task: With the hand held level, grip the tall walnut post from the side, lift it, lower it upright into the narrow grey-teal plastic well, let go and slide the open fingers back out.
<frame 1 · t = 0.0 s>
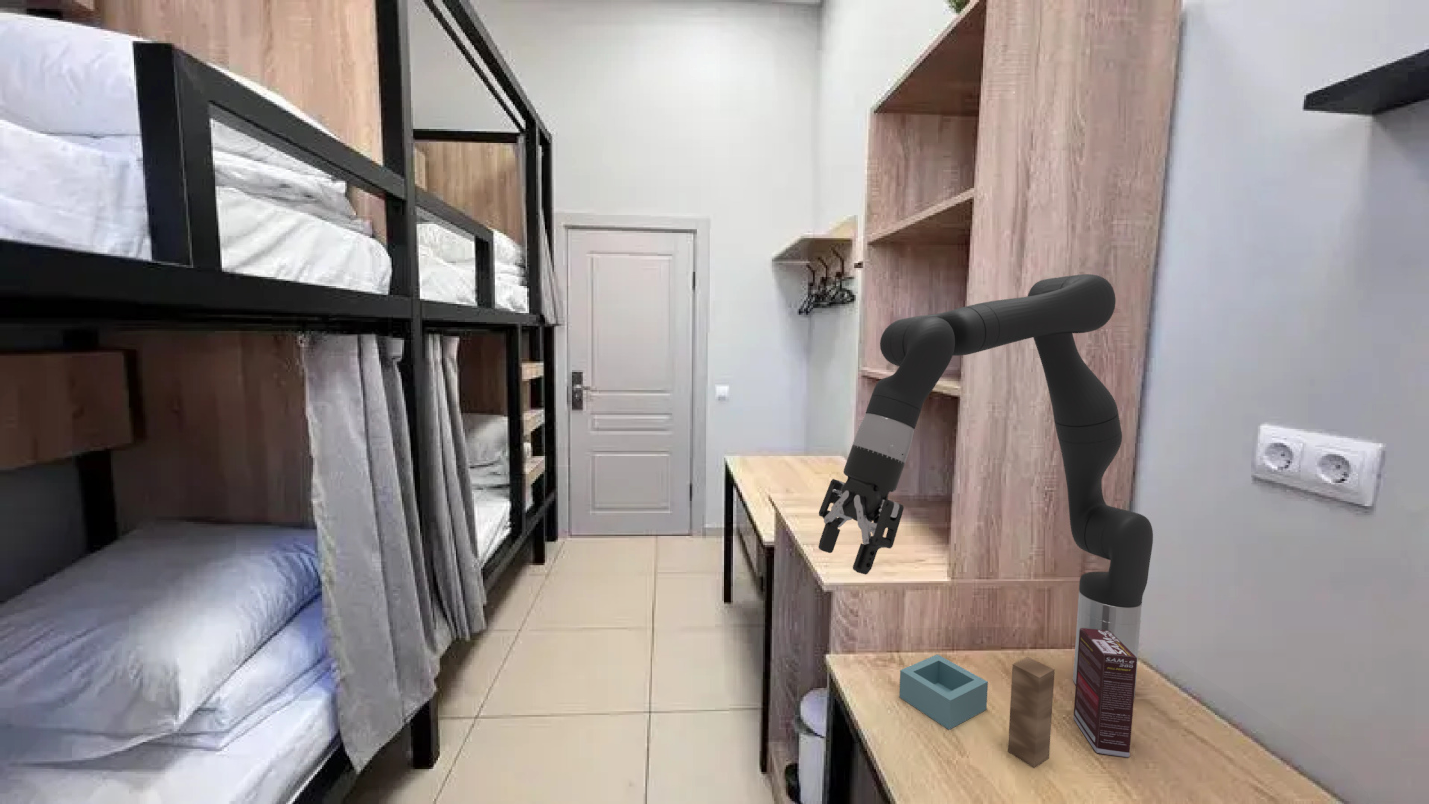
hand: (841, 561, 78), 31 cm above the table, tool tilted 20°, fingers open, 8 cm apart
supplement box: (1100, 738, 89), on the table
walnut post: (1028, 754, 85), on the table
well: (942, 703, 97), on the table
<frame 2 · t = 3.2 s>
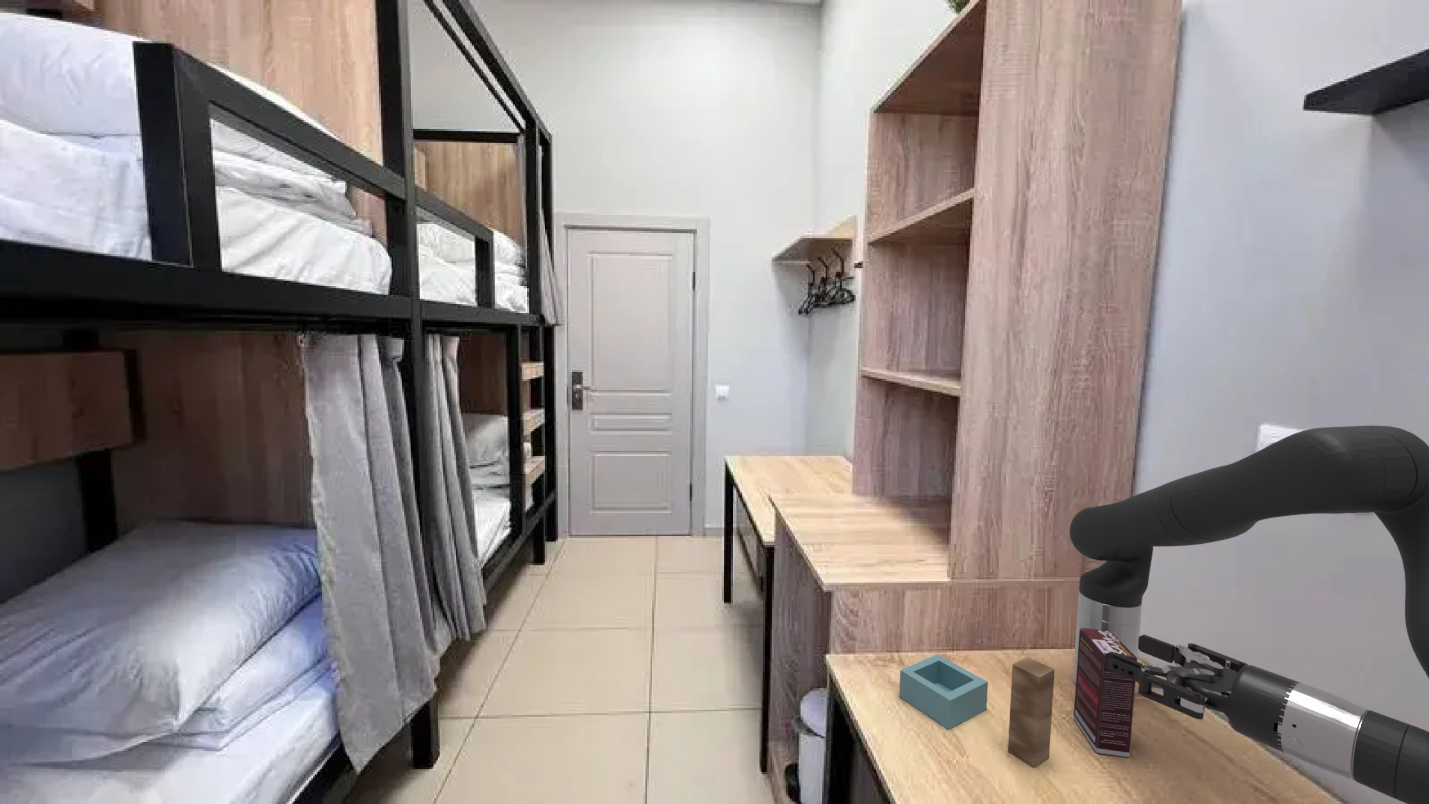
hand: (1123, 650, 73), 22 cm above the table, tool horizontal, fingers open, 8 cm apart
nothing on the table moved.
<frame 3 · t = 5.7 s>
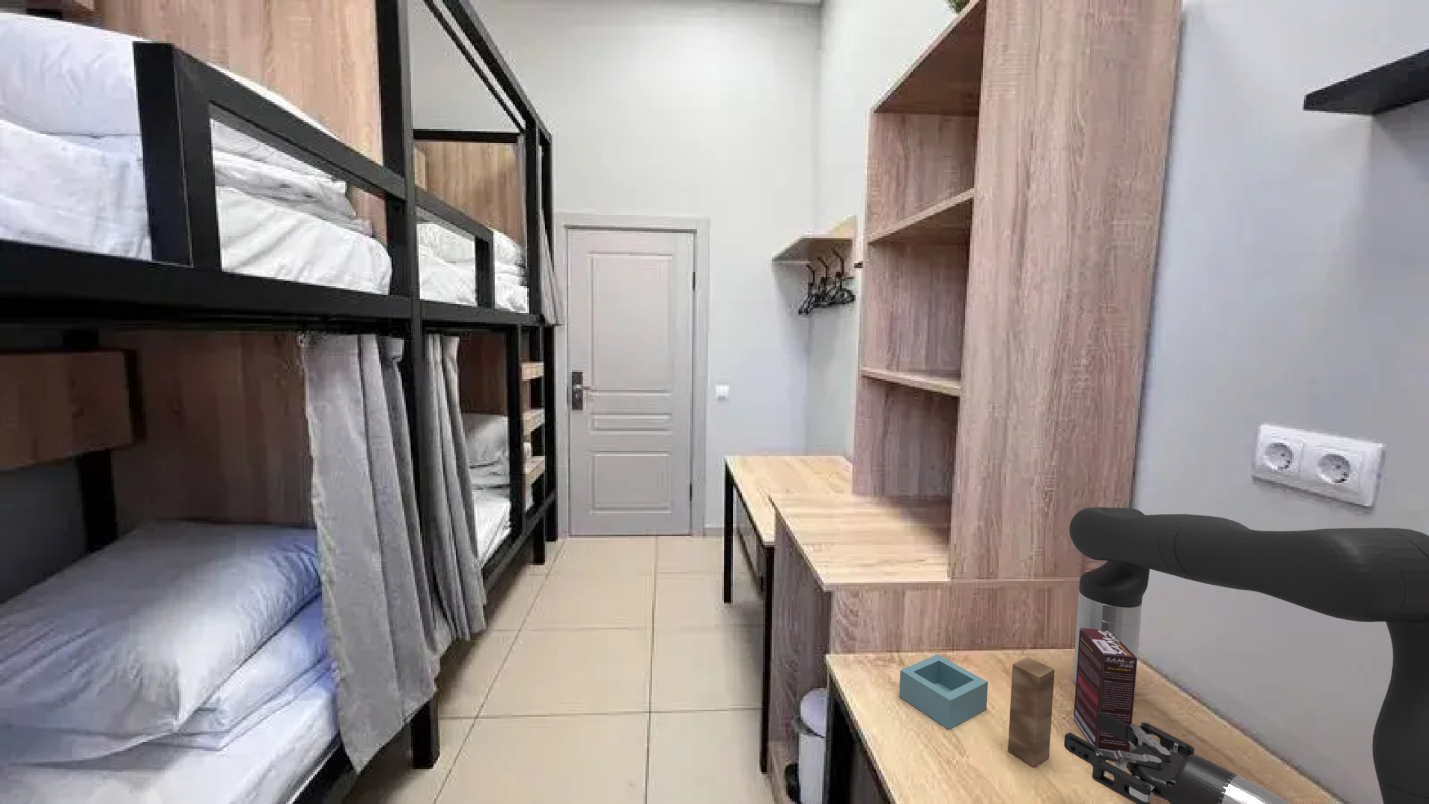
hand: (1081, 728, 78), 8 cm above the table, tool horizontal, fingers open, 8 cm apart
nothing on the table moved.
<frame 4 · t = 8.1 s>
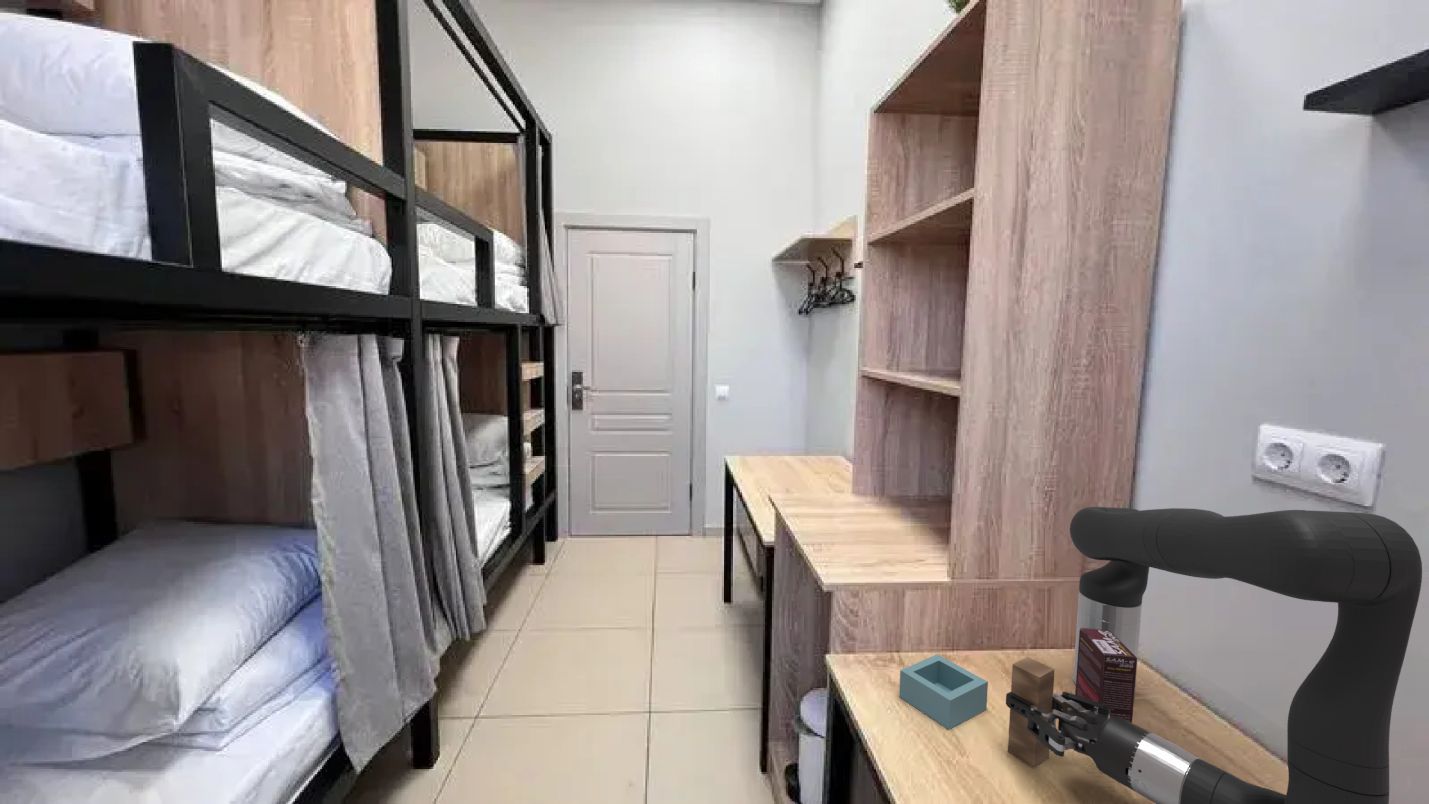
hand: (1016, 693, 86), 9 cm above the table, tool horizontal, fingers closed on walnut post, 4 cm apart
walnut post: (1028, 754, 85), on the table, touching gripper
everything else where it was.
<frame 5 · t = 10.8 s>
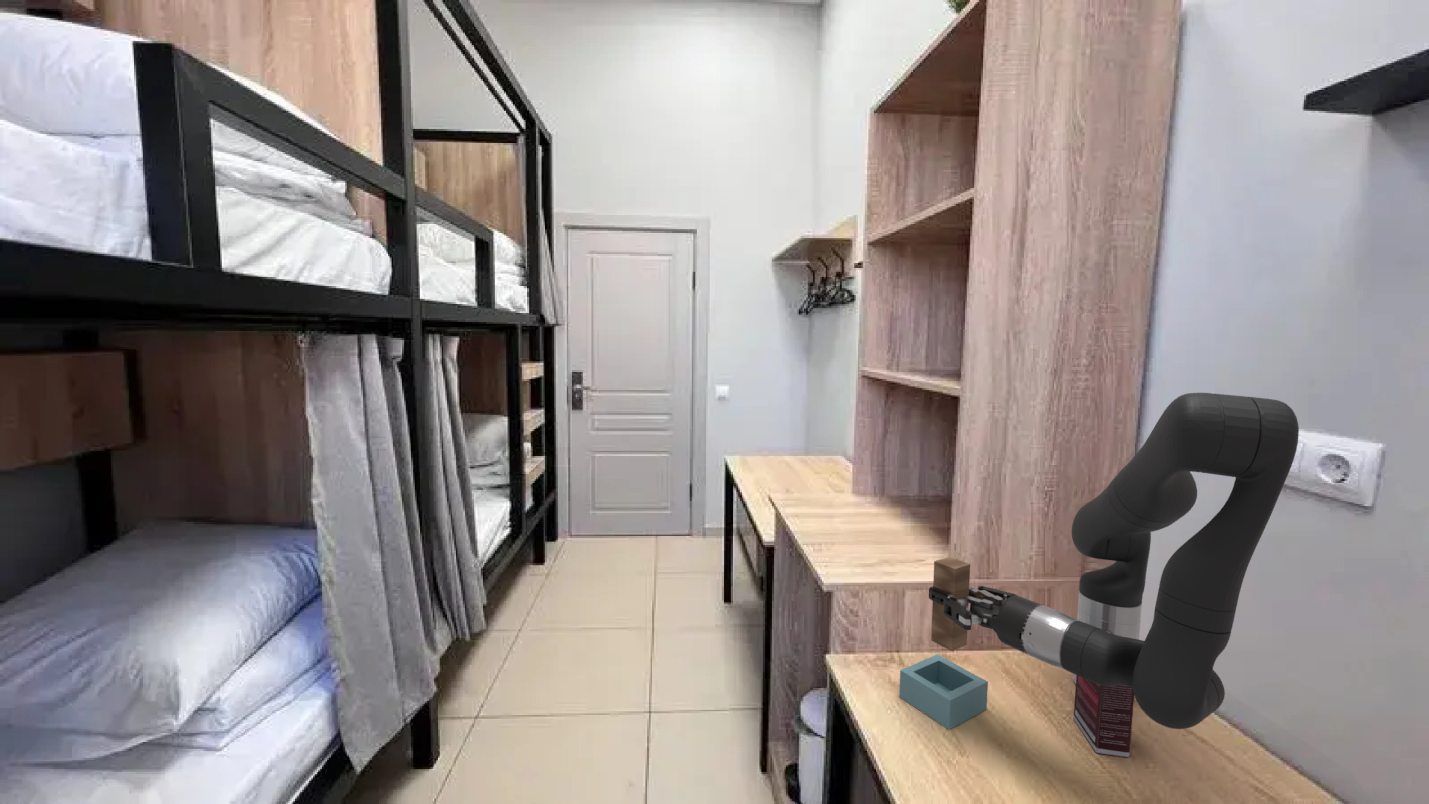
hand: (939, 589, 97), 20 cm above the table, tool horizontal, fingers closed on walnut post, 4 cm apart
walnut post: (948, 642, 95), point 11 cm above the table, touching gripper
everything else where it was.
when the fingers open (11 cm above the table, at t = 13.9 s): walnut post drops 1 cm, resting on well.
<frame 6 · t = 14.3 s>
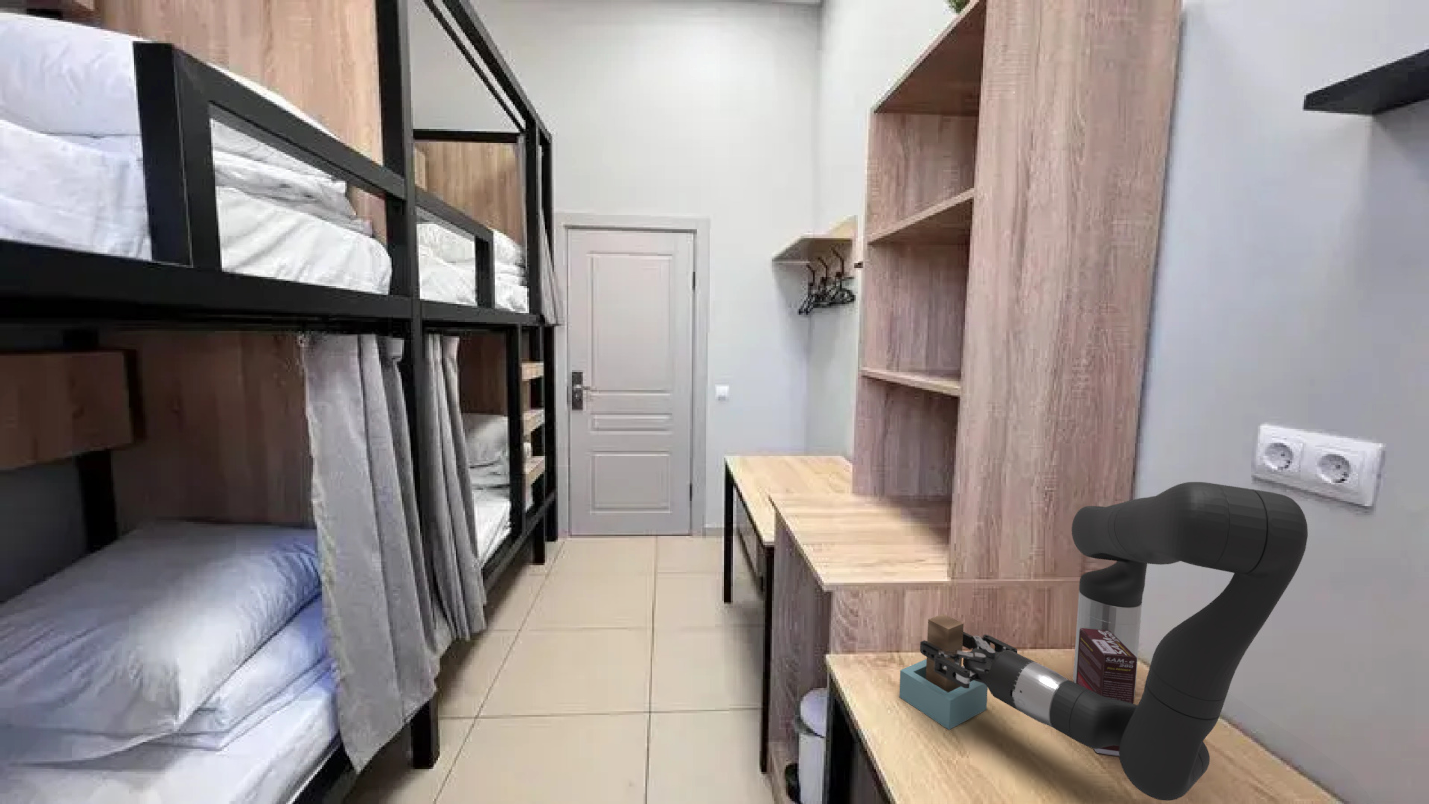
hand: (937, 639, 97), 11 cm above the table, tool horizontal, fingers open, 8 cm apart
walnut post: (942, 699, 97), point 1 cm above the table, touching well
everything else where it was.
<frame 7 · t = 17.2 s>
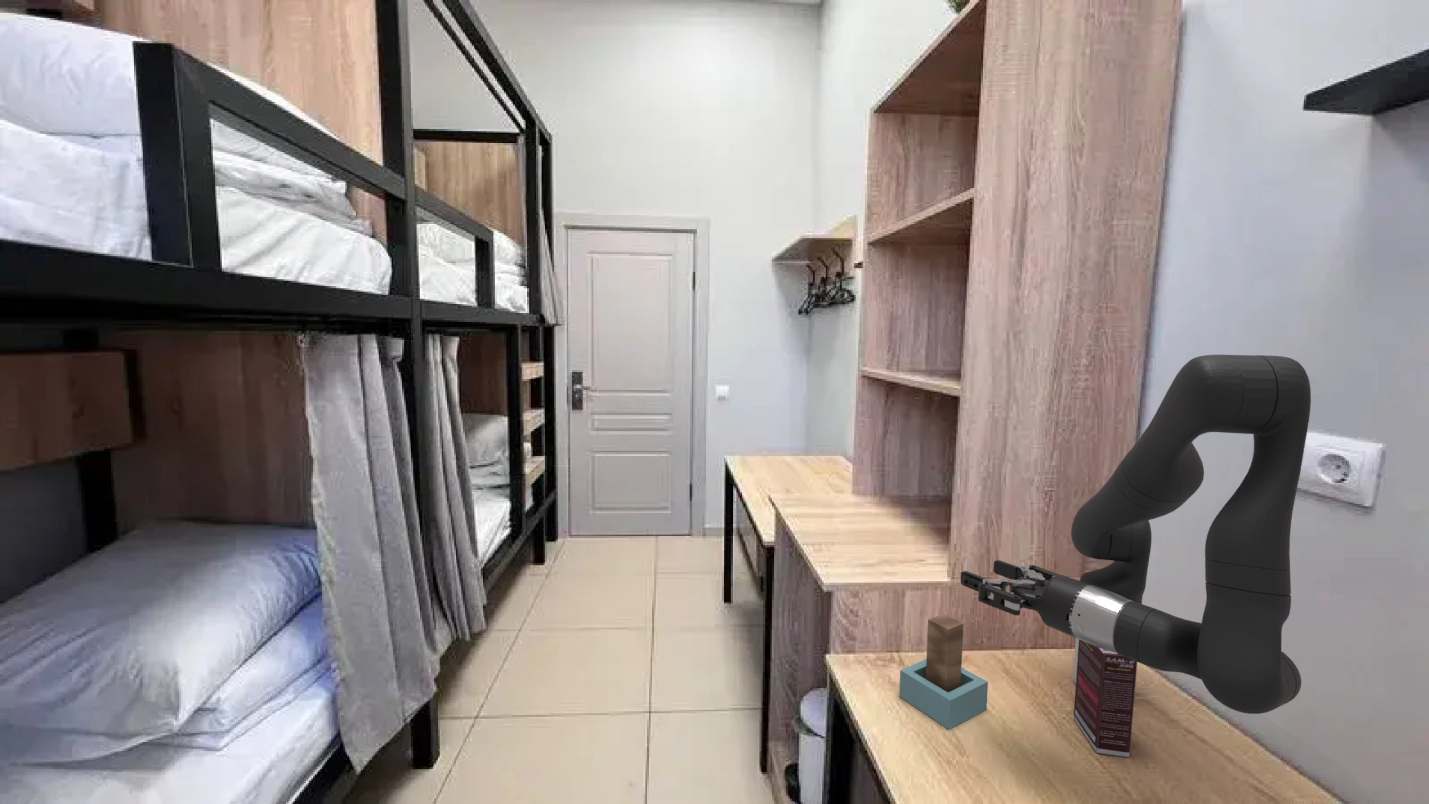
hand: (978, 571, 90), 26 cm above the table, tool horizontal, fingers open, 8 cm apart
nothing on the table moved.
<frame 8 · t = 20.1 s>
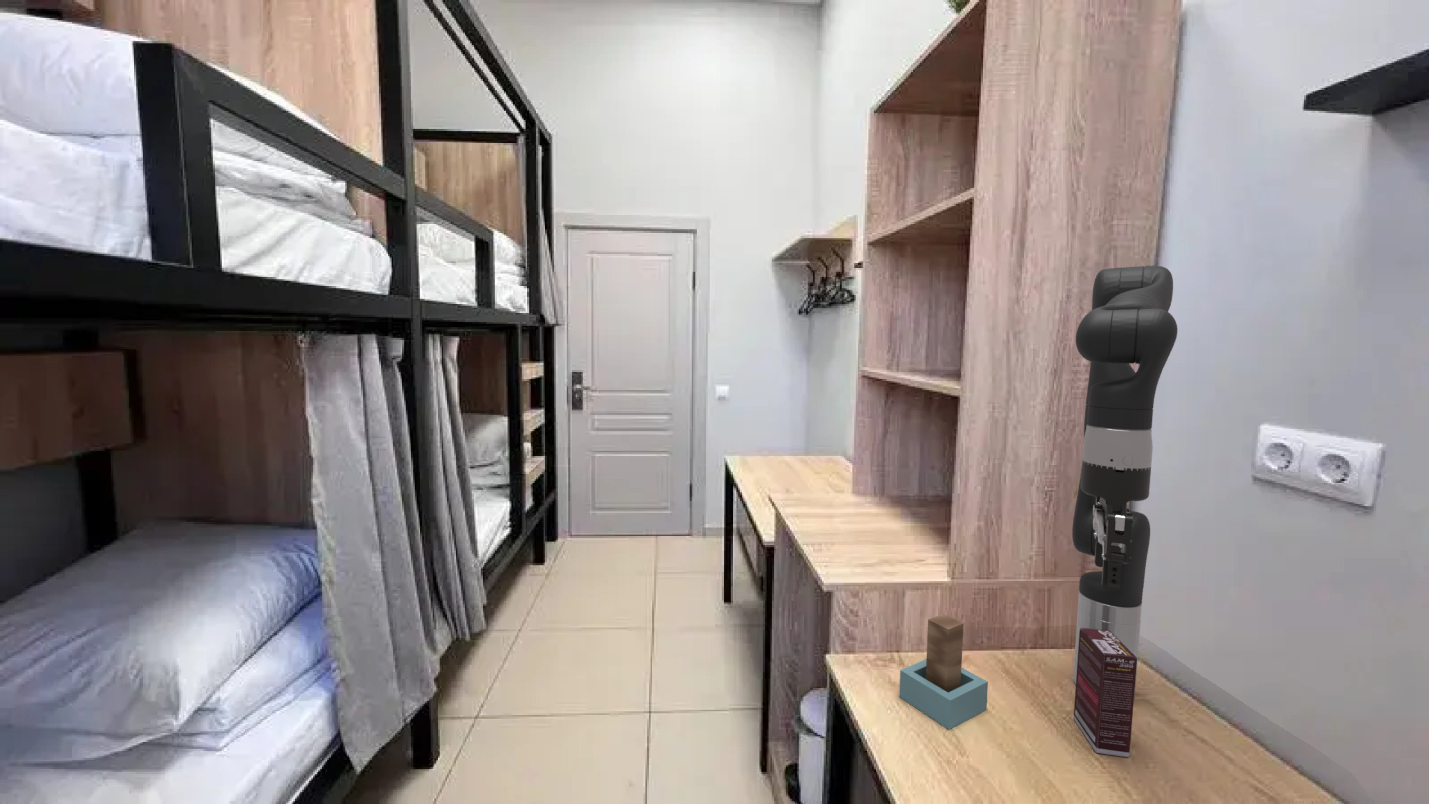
hand: (1107, 577, 76), 30 cm above the table, tool pointing down, fingers open, 8 cm apart
nothing on the table moved.
at the end: walnut post 0.1 cm off-centre on the well, point 0.8 cm above the well's base; walnut post tilted 0°; the gripper is holding nothing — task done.
